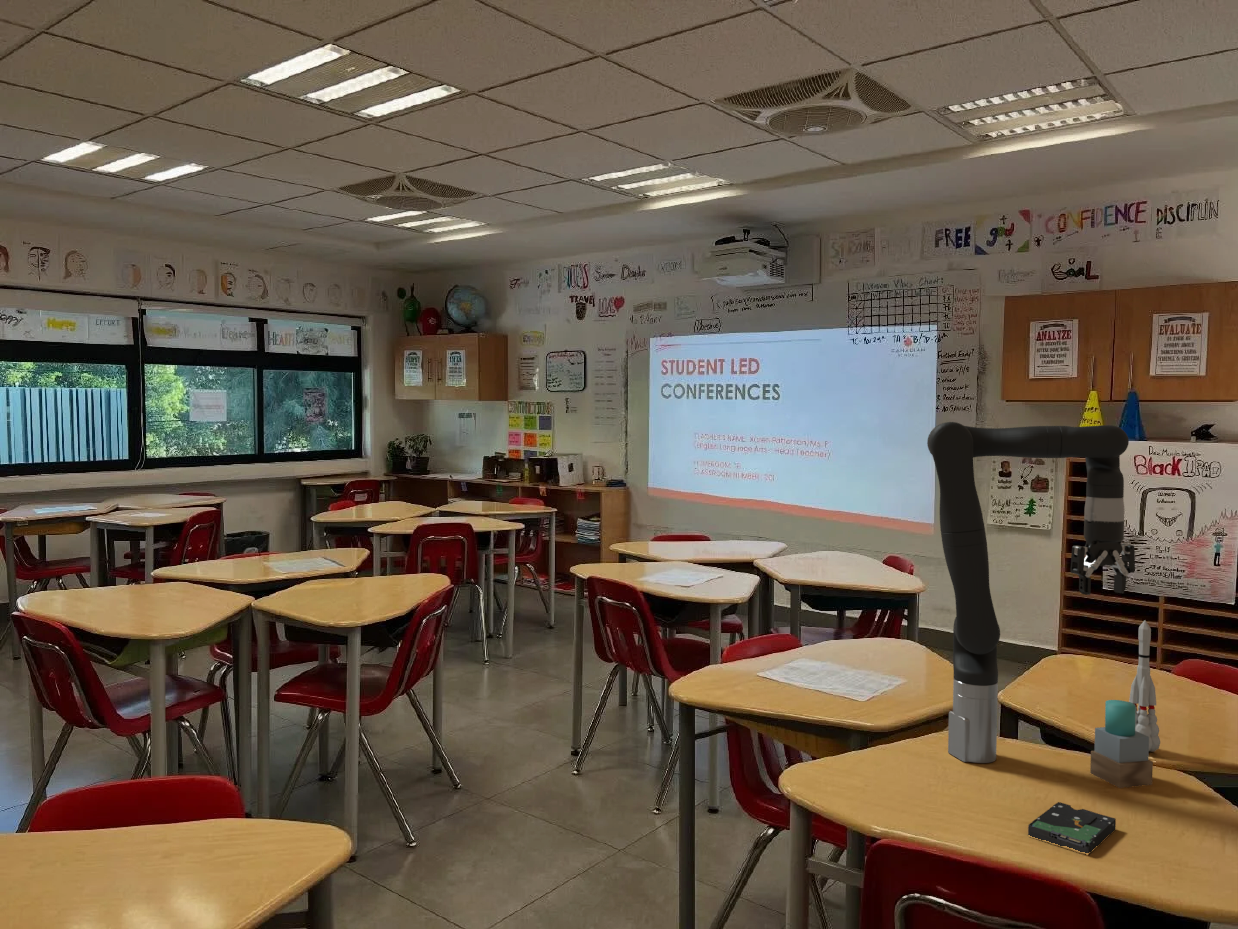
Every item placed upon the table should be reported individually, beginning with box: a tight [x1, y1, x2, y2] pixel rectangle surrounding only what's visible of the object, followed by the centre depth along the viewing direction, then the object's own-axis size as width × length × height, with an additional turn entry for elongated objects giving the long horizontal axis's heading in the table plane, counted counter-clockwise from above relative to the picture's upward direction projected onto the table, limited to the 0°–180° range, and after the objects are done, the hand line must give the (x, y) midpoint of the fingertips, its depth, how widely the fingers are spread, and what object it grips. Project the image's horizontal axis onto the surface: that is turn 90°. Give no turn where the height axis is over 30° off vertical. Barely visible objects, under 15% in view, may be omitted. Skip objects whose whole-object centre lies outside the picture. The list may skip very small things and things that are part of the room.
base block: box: [1089, 750, 1154, 789], centre depth 187 cm, size 8×8×5 cm
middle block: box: [1093, 726, 1150, 763], centre depth 187 cm, size 7×7×5 cm
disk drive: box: [1027, 801, 1117, 853], centre depth 161 cm, size 10×3×15 cm
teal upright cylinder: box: [1104, 699, 1136, 736], centre depth 186 cm, size 6×6×6 cm
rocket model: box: [1128, 619, 1161, 753], centre depth 203 cm, size 7×7×30 cm
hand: (1102, 593), depth 191 cm, fingers open, 8 cm apart
